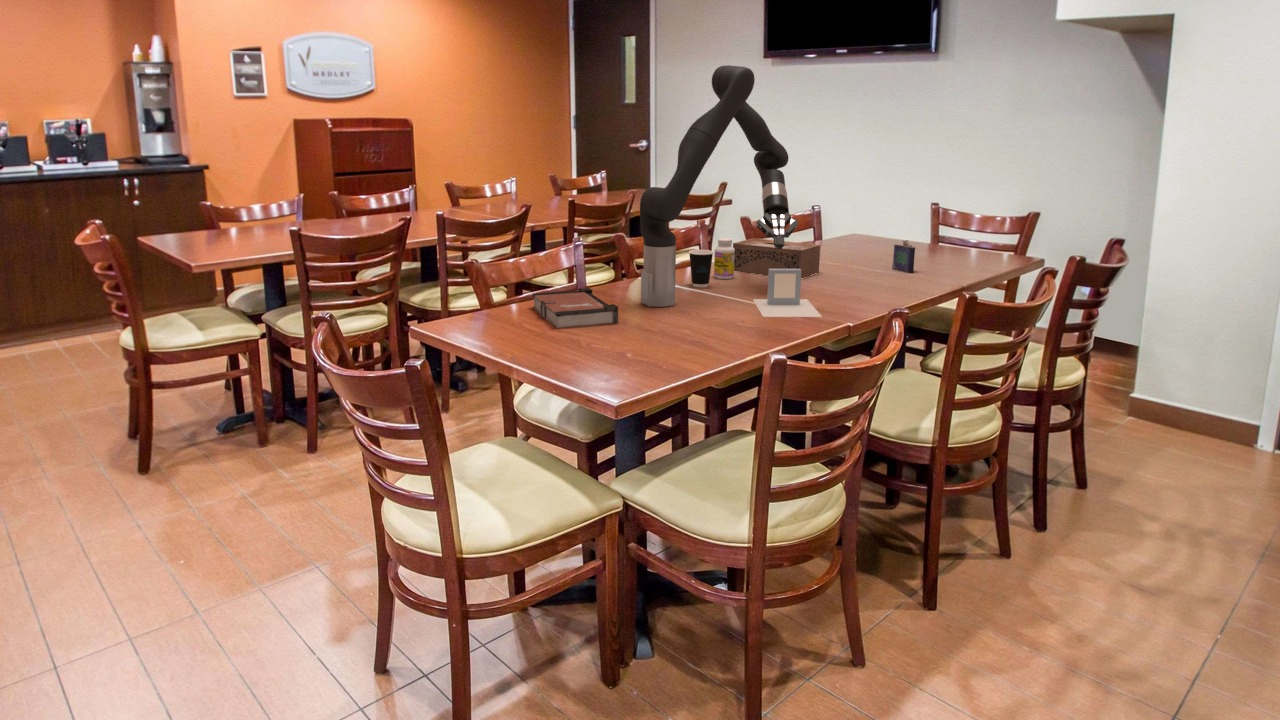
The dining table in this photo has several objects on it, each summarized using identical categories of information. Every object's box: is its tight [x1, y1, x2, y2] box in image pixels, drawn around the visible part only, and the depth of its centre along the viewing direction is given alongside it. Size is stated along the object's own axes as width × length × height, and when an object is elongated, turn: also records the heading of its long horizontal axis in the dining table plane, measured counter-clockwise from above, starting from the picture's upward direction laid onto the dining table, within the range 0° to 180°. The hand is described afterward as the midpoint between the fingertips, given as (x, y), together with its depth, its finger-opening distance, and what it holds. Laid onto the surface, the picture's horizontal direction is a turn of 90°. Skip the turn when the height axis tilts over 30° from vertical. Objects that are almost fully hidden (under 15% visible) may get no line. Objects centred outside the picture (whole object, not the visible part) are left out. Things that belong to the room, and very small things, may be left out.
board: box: [752, 298, 823, 318], centre depth 252 cm, size 22×16×1 cm
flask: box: [891, 240, 916, 274], centre depth 308 cm, size 9×3×11 cm, turn 28°
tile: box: [766, 269, 802, 305], centre depth 255 cm, size 2×9×10 cm, turn 90°
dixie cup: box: [688, 249, 715, 288], centre depth 283 cm, size 8×8×11 cm
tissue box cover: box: [732, 237, 821, 279], centre depth 306 cm, size 26×14×10 cm, turn 54°
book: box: [531, 287, 619, 330], centre depth 244 cm, size 26×18×5 cm
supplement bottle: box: [713, 237, 735, 280], centre depth 296 cm, size 7×7×13 cm
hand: (779, 247), depth 262 cm, fingers closed
